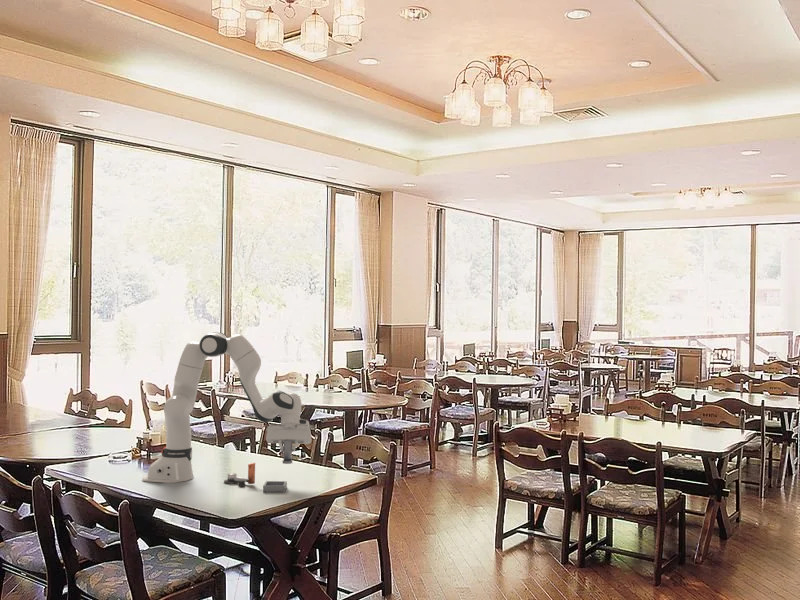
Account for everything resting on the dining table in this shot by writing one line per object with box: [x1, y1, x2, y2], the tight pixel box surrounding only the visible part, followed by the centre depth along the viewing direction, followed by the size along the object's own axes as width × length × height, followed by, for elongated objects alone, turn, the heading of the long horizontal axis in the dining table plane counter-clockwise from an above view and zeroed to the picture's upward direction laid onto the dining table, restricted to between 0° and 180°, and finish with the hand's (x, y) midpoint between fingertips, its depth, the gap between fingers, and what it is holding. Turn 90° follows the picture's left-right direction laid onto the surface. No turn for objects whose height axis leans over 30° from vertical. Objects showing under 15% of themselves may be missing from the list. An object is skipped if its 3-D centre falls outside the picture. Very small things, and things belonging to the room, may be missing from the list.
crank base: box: [223, 479, 239, 485], centre depth 345 cm, size 7×7×1 cm
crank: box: [226, 462, 256, 485], centre depth 342 cm, size 14×4×9 cm, turn 63°
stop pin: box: [282, 440, 293, 465], centre depth 340 cm, size 4×4×10 cm
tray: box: [262, 480, 288, 494], centre depth 332 cm, size 9×9×3 cm
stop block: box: [238, 480, 246, 488], centre depth 338 cm, size 2×2×2 cm
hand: (287, 450), depth 340 cm, fingers closed on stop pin, 4 cm apart
